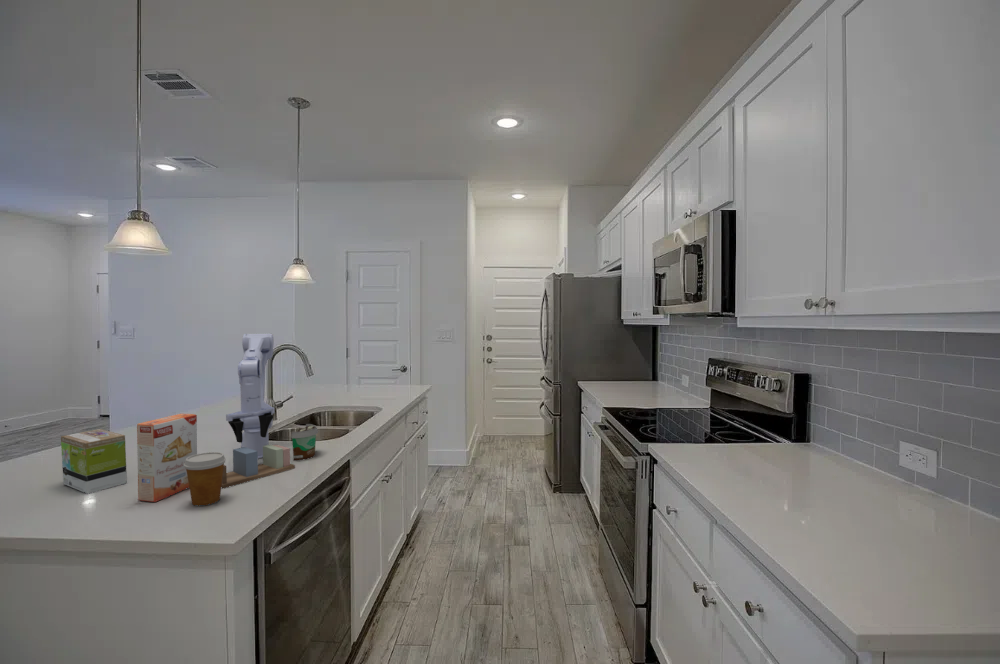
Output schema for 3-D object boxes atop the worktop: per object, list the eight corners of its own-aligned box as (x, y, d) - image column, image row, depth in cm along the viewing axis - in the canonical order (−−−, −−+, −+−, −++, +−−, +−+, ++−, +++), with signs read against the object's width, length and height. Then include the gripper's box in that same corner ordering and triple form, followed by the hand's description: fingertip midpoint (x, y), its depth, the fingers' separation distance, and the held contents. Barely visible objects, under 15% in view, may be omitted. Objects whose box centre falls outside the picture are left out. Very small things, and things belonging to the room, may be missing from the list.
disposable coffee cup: (235, 496, 131) (234, 453, 130) (204, 510, 121) (203, 463, 121) (207, 493, 133) (206, 450, 133) (175, 506, 124) (174, 460, 124)
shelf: (206, 481, 142) (206, 461, 142) (277, 462, 160) (277, 444, 160) (223, 488, 137) (222, 467, 136) (294, 468, 154) (294, 449, 154)
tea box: (61, 485, 139) (59, 435, 138) (102, 475, 148) (101, 427, 147) (86, 495, 132) (84, 441, 131) (128, 483, 141) (126, 433, 140)
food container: (309, 461, 161) (309, 432, 161) (291, 461, 161) (291, 432, 161) (324, 451, 173) (323, 423, 173) (307, 451, 173) (306, 423, 173)
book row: (263, 464, 155) (262, 446, 155) (276, 460, 159) (276, 442, 159) (276, 469, 151) (276, 450, 150) (290, 465, 154) (289, 446, 154)
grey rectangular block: (233, 471, 148) (232, 449, 148) (244, 468, 151) (244, 446, 150) (246, 477, 143) (245, 453, 143) (258, 473, 146) (257, 451, 146)
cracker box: (156, 503, 126) (153, 424, 125) (137, 501, 127) (134, 423, 127) (199, 484, 140) (197, 413, 139) (182, 483, 141) (180, 412, 140)
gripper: (233, 402, 145) (234, 446, 146) (279, 395, 157) (280, 436, 158) (222, 399, 149) (223, 442, 150) (267, 393, 161) (268, 433, 162)
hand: (251, 439), depth 154 cm, fingers open, 7 cm apart
